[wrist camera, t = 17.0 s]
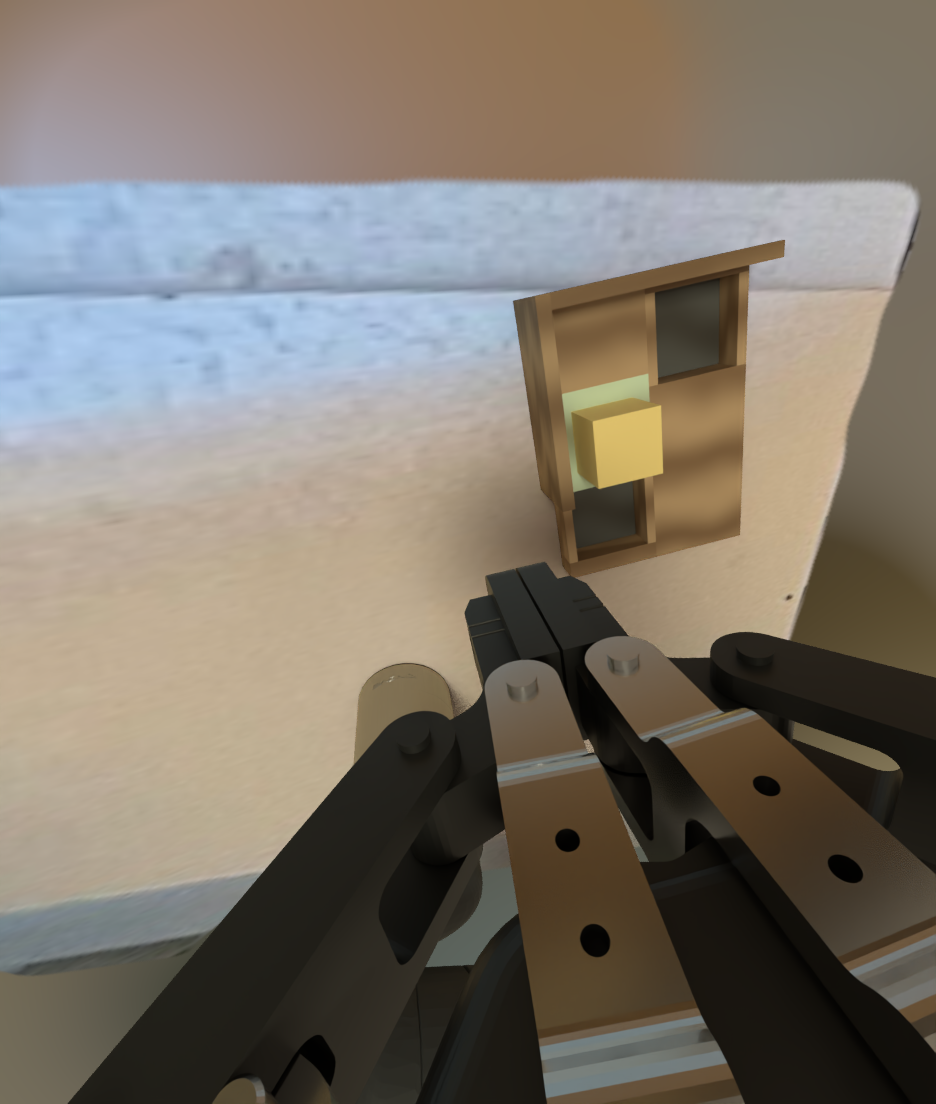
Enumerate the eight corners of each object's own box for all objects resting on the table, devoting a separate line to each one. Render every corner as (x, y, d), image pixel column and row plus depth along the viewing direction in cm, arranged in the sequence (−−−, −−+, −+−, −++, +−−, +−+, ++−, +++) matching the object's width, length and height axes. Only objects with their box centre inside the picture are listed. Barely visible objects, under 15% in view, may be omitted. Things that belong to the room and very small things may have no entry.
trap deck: (723, 525, 48) (766, 550, 43) (552, 568, 47) (574, 600, 42) (728, 252, 38) (784, 239, 33) (513, 300, 37) (534, 296, 32)
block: (635, 458, 41) (663, 473, 37) (577, 473, 41) (598, 489, 37) (632, 397, 39) (661, 405, 35) (570, 411, 39) (592, 421, 35)
